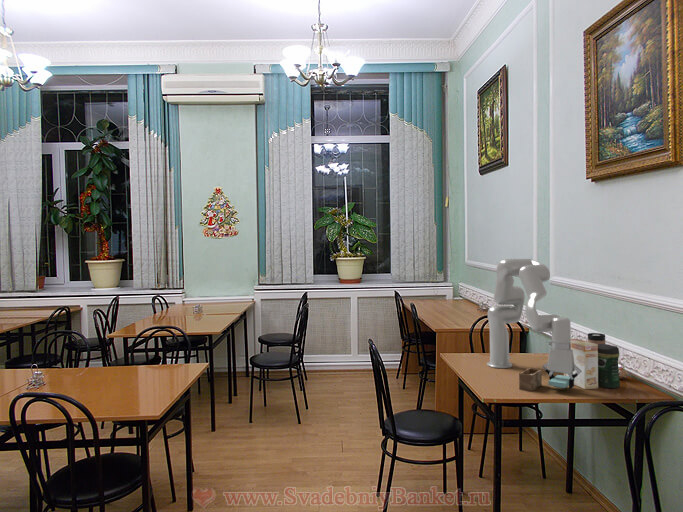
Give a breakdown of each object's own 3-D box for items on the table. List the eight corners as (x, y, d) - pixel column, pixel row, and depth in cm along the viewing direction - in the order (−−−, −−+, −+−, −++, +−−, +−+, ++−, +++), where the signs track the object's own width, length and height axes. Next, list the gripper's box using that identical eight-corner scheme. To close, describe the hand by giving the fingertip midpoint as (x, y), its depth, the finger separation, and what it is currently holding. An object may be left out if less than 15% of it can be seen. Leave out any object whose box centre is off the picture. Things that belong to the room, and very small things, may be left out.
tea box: (529, 383, 227) (529, 368, 227) (541, 385, 224) (541, 369, 224) (519, 389, 218) (519, 373, 218) (532, 391, 215) (532, 375, 215)
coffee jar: (623, 387, 218) (623, 345, 217) (610, 389, 215) (609, 347, 215) (604, 382, 227) (604, 341, 227) (591, 384, 224) (591, 343, 224)
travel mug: (605, 374, 240) (604, 333, 240) (606, 378, 233) (605, 336, 233) (587, 373, 243) (587, 332, 243) (588, 376, 236) (587, 335, 236)
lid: (558, 380, 223) (557, 374, 223) (574, 383, 219) (574, 377, 219) (548, 387, 214) (548, 381, 213) (565, 389, 209) (565, 383, 209)
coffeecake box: (599, 388, 218) (598, 344, 217) (584, 389, 216) (584, 345, 216) (577, 379, 232) (576, 338, 232) (563, 380, 231) (562, 338, 231)
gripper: (537, 344, 219) (538, 385, 219) (580, 349, 207) (580, 391, 208) (543, 342, 224) (544, 381, 225) (585, 346, 213) (585, 387, 213)
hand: (561, 386), depth 216 cm, fingers closed on lid, 7 cm apart
